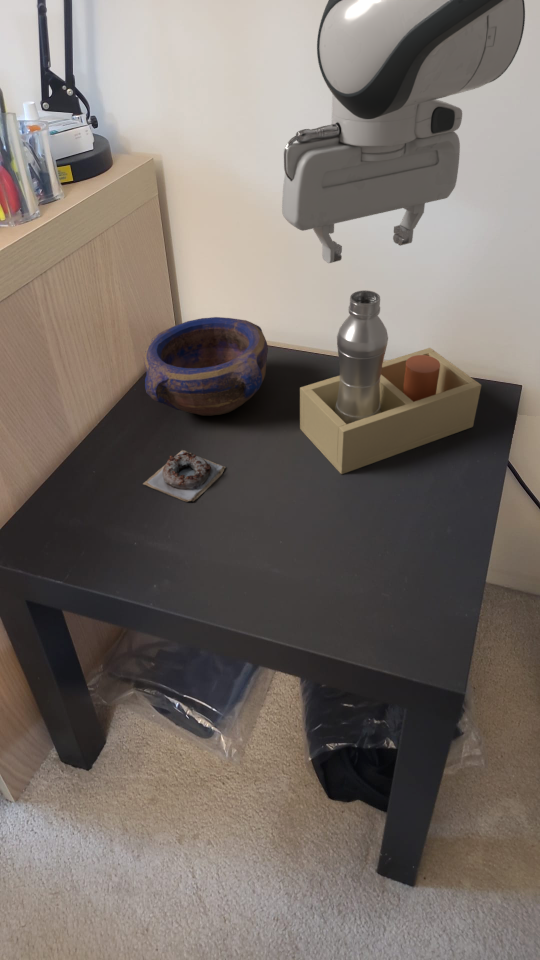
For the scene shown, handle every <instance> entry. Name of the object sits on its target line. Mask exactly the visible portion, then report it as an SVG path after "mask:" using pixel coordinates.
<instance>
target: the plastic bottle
mask: <svg viewBox="0 0 540 960" xmlns="http://www.w3.org/2000/svg"><path fill="white" fill-rule="evenodd" d="M347 310H348V314H349V316H347V318H345V320H344V321H343V322H342V324H341V325H340V327H339V329H338V332H337V334H336V346H337V347H336V348H337V355H338V363H339V364H338V365H339V375H340V383H339V391H338V398H337V402H336V406H335V410H334V412H335V413H336V414H337V415H338V416H339V417H340V418H341V419H342V420H343V421H344V422H345V423H346V424H349V423H352V422H355V421H358V420H361V419H364V418H367V417H370V416H373V415H376V414H379V413H381V406H380V376H381V370H382V364H383V362H384V360H385V359H384V358H385V355H386V351H387V348H388V343H389V342H388V341H389V334H388V330H387V327H386V326H385V324H384V322H383V321H382V319H381V318H380V316H379V315H380V313H381V296H380V295H379V293H377V292H375V291H372V290H357V291H355V292H353V293H351V294H350V297H349V305H348V309H347Z"/></svg>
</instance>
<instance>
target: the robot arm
mask: <svg viewBox="0 0 540 960" xmlns="http://www.w3.org/2000/svg"><path fill="white" fill-rule="evenodd" d="M525 5H526V4H525V0H328V1H327V3H326V5H325V8H324V10H323V12H322V15H321V19H320V23H319V27H318V32H317V38H316V39H317V41H316V56H317V63H318V67H319V70H320V73H321V77H322V78H323V81H324V83H325V84H326V87H327V88H328V90H329V91H330V92H331V124H327V125H321V126H319V127H316V128H311V129H310V128H305V129H301V130H298V131H297V132H296V133H295V135H294V136H293V137H291V138H290V139H289V140H288V141H287V143H286V145H285V146H284V149H283V170H284V175H283V176H284V178H283V186H282V198H281V212H282V216H283V218H284V219H285V220H286V221H287V222H288V223H289V224H290V225H291V226H293V227H294V228H296V229H297V230H300V231H309V230H313V231H314V233H315V235H316V237H317V239H318V240H319V242H320V243H321V244H322V247H321V249H322V253H321V255H322V259H323V261H324V262H326V263H327V264H333V263H336V262H340V261H342V253H343V252H342V251H343V246H342V245H341V244H339V243H338V242H337V241H335V240H333V239H332V237H331V234H334V233H335V224H339V223H344V222H348V221H352V220H357V219H362V218H366V217H371V216H375V215H379V214H384V213H388V212H392V211H396V210H401V209H404V210H405V212H404V215H403V217H402V219H401V221H400V224H399V225H395V226H393V236H392V240H393V243H395V244H396V245H398V246H399V247H400V246H404V245H408V244H412V242H413V238H414V229H416V227H417V225H418V224H419V221H420V220H421V218H422V216H423V215H424V213H425V207H426V204H427V203H432V202H436V201H440V200H441V201H442V200H445V199H448V198H449V197H450V195H451V194H452V192H453V191H454V189H455V188H456V185H457V181H458V174H459V166H460V156H461V155H460V152H461V144H460V138H459V136H458V134H457V133H456V131H457V130H458V129H460V127H461V124H462V121H463V110H462V108H460V107H458V106H456V105H453V104H452V103H449V102H446V101H443V100H439V99H442V98H447V97H449V96H454V95H456V94H462V93H466V92H469V91H473V90H476V89H479V88H482V87H484V86H485V85H488V84H490V83H492V82H494V81H496V80H498V79H499V78H500V77H501V76H502V75H503V74H504V73H505V72H506V71H507V70H508V68H509V67H510V66H511V64H512V63H513V61H514V59H515V57H516V55H517V53H518V50H519V48H520V46H521V42H522V39H523V35H524V31H525V23H526V22H525V21H526V6H525ZM296 141H297V142H296Z"/></svg>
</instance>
